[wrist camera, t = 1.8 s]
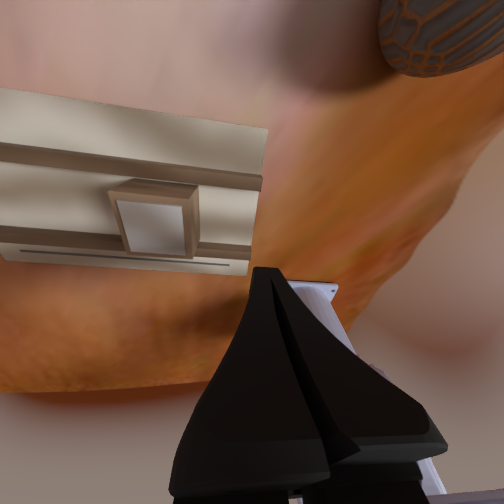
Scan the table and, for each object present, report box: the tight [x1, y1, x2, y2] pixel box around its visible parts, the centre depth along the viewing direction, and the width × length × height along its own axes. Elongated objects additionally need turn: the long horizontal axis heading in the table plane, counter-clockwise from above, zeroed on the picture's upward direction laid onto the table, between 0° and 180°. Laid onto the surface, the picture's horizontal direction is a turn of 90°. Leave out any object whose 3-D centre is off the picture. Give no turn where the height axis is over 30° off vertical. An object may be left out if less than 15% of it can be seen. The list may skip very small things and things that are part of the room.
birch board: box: [0, 87, 268, 276], centre depth 16 cm, size 14×24×2 cm, turn 83°
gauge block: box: [107, 178, 200, 260], centre depth 15 cm, size 5×5×4 cm
